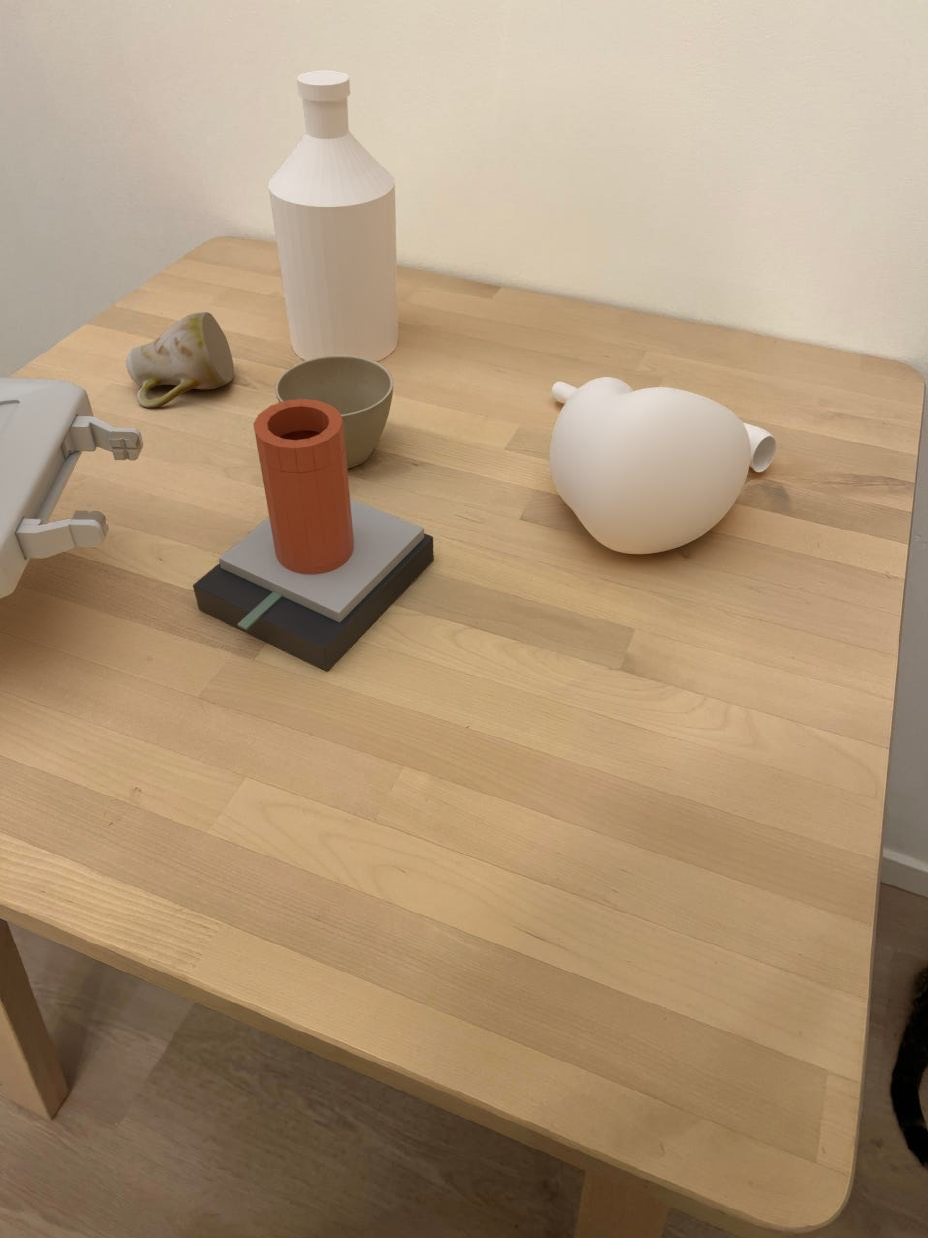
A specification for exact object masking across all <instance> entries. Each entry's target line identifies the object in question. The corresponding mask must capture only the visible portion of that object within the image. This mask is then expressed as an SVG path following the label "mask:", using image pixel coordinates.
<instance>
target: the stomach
mask: <svg viewBox="0 0 928 1238" xmlns="http://www.w3.org/2000/svg"><path fill="white" fill-rule="evenodd" d="M550 394H551V395H550V396H551V398H552V399H553V400H554V401H557V402H558V403H561V404H562V405H563V406H562V408H561V410H560V411H559V414H558V416H557V418H556V421H555V423H554V426H553V430H552V434H551V437H550V444H549V450H548V451H549V453H548V455H549V456H548V458H549V459H548V460H549V471H550V476H551V480H552V483H553V485H554V488H555V490H556V492H557V494H558V495H559V496H560V498H561V499H562V500H563V502H564V503H565V504H566V505H567V506H568V507H569V508H570V509H571V511H573V513H574V514H575V516H576V517H577V519H578V520H579V521H580V523H581V524H582V526H583V527H584V528H585V529H586V531H587V532H588V533H589V535H591V536H592V537H593V539H595V540H596V541H597V542H598V543H600V544H601V545H602V546H604V547H606V548H608V549H609V550H612V551H614V552H618V553H622V554H629V555H648V554H649V555H650V554H657V553H662V552H663V553H664V552H667V551H671V550H674V549H677V548H679V547H682V546H686V545H687V544H689V543H692V542H693V541H695V540H697V539H699V538H700V537H702V536H703V535H705V534H706V533H707V532H709V531H711V529H712V528H714V527H715V526H716V525H717V524H718V523H719V522H720V521H721V520H722V519H724V517H725V516H726V515H727V513H728V512H729V511H730V510H731V509H732V507H733V505H734V504H735V503H736V501H737V499H738V498H739V496H740V494H741V492H742V490H743V488H744V486H745V483H746V480H747V477H748V473H749V470H750V468H751V469H752V470H753V471H754V472H756V473H762V472H764V471H765V470H767V469H768V468H769V467H770V465H771V464H772V462H773V460H774V458H775V454H776V450H777V442H776V438H775V437H774V435H773V434H772V433H771V432H769V431H768V430H766V429H764V428H762V427H760V426H757V425H755V424H751V423H746V422H743V421H742V420H741V419H740V417H738V415H737V414H736V413H735V412H734V411H732V410H731V409H729V408H728V407H726V406H725V405H723V404H721V403H720V402H717V401H715V400H713V399H711V398H708V397H707V396H703V395H701V394H698V393H695V392H692V391H688V390H685V389H681V388H674V387H667V386H651V387H645V388H640V389H637V390H633V388H632V387H631V386H630V385H629V384H628V383H626V382H625V381H623V380H622V379H619V378H616V377H611V376H603V377H598V378H594V379H591V380H589V381H588V382H586V383H584V384H582V385H581V386H580V387H579V388H578V387H576V386H574V385H572V384H569V383H567V382H563V381H560V380H559V381H556V382H554V384H553V386H552V388H551V391H550Z"/></svg>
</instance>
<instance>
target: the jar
mask: <svg viewBox="0 0 928 1238" xmlns="http://www.w3.org/2000/svg"><path fill="white" fill-rule="evenodd" d="M253 430H254V435H255V436H254V437H255V441H256V446H257V447H256V448H257V453H258V459H259V465H260V471H261V476H262V482H263V483H262V484H263V488H264V494H265V500H266V505H267V506H266V507H267V512H268V517H269V518H270V524H271V530H272V536H273V542H274V547H275V553H276V557H277V559H278V561H279V562H280V563H281V564H282V565H283V566H284V567H285V568H287V569H289V570H291V571H293V572H297V573H301V574H321V573H326V572H329V571H332V570H334V569H336V568H338V567H340V566H342V565H343V564H344V563H345V562H347V560H348V559H349V558H350V557H351V555H352V553H353V549H354V543H353V542H354V537H353V526H352V516H351V505H350V499H351V494H350V484H349V473H348V468H347V461H346V450H345V439H344V428H343V421H342V417H341V414H340V412H339V411H337V410H336V409H335V408H334V407H333V406H331V405H329V404H326V403H323V402H321V401H317V400H306V399H296V400H287V401H283V402H280V403H279V402H278V403H275V404H271V405H270V406H268V407H267V408H265V409H264V410H263V411H261V412H260V413H258V415H257V416H256V418H255V420H254V422H253Z"/></svg>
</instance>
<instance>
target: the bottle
mask: <svg viewBox="0 0 928 1238" xmlns="http://www.w3.org/2000/svg"><path fill="white" fill-rule="evenodd" d="M296 82H297V83H296V84H297V94H298V96H299V97H300V99H301V100H302V107H303V108H302V109H303V115H304V124H305V133H304V135H303V136H302V138H301V139H300V140H299V141H298V143H297V145H296V146H295V147H294V148H293V150H292V151H291V153H290V154H289V156H288V157H287V158H286V160H285V161H284V162H283V163H282V165H281V166H280V167H279V168H278V170H276V171H275V173H274V174H273V175H272V176H271V177H270V178H269V180H268V183H267V187H268V194H269V201H270V207H271V208H270V209H271V213H272V220H273V228H274V234H275V241H276V249H277V255H278V261H279V262H278V263H279V268H280V275H281V282H282V290H283V296H284V297H283V298H284V303H285V311H286V316H287V324H288V330H289V338H290V343H291V349H292V350H293V352H294V354H295V355H296V356H297V357H299V358H300V359H302V361H305V360H308V359H312V358H316V357H321V356H328V355H352V356H359V357H363V358H367V359H370V360H373V361H375V362H377V363H378V362H379V361H382V360H384V359H385V358H387V357H388V356H390V355H391V354H392V353H393V352H394V351H395V350H396V349H397V347H398V344H399V320H398V319H399V314H398V313H399V311H398V309H399V308H398V266H397V264H398V263H397V220H396V219H397V218H396V217H397V216H396V180H395V178H394V176H393V175H392V174H391V172H389V171H388V170H387V169H386V168H385V167H384V166H383V165H382V164H380V162H378V161H377V160H376V158H374V157H373V156H372V155H371V154H370V152H368V150H367V149H366V148H365V147H364V146H363V145H362V144H361V142H360V141H359V140H358V139H357V138H356V137H355V136H354V135H353V133H351V132H350V130H349V129H350V128H349V108H348V104H349V103H348V97H349V96H350V95H351V86H350V85H351V84H350V83H351V82H350V76H349V74H347V73H345V72H342V71H339V70H338V71H337V70H330V69H327V70H326V69H321V70H319V69H318V70H311V71H310V70H309V71H306V72H303V73H300V74H298V75H297V77H296Z"/></svg>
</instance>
